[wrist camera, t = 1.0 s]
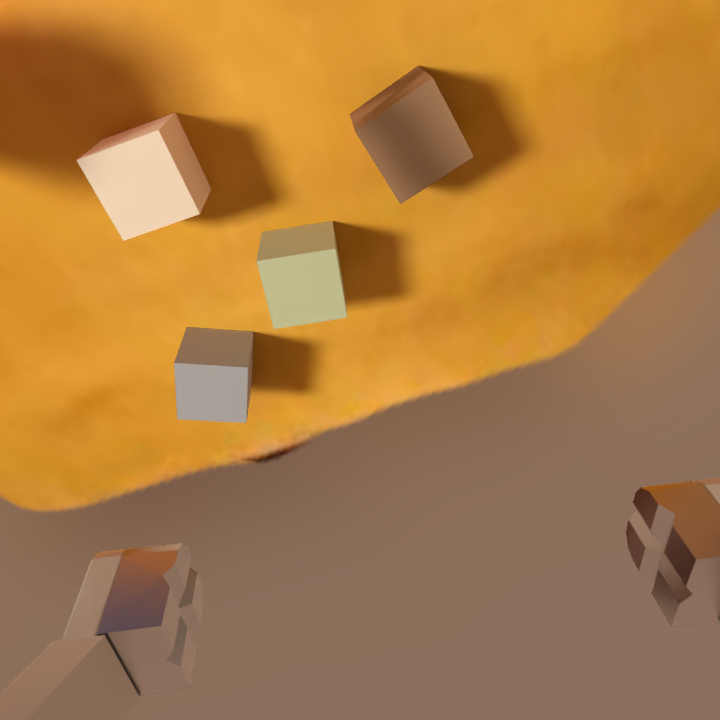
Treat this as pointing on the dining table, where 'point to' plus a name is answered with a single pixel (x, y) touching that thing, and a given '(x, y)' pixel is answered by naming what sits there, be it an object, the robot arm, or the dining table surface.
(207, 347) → the cube slate
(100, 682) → the robot arm
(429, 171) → the cube walnut
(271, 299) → the cube sage
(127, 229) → the cube offwhite
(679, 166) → the dining table surface
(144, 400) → the dining table surface
